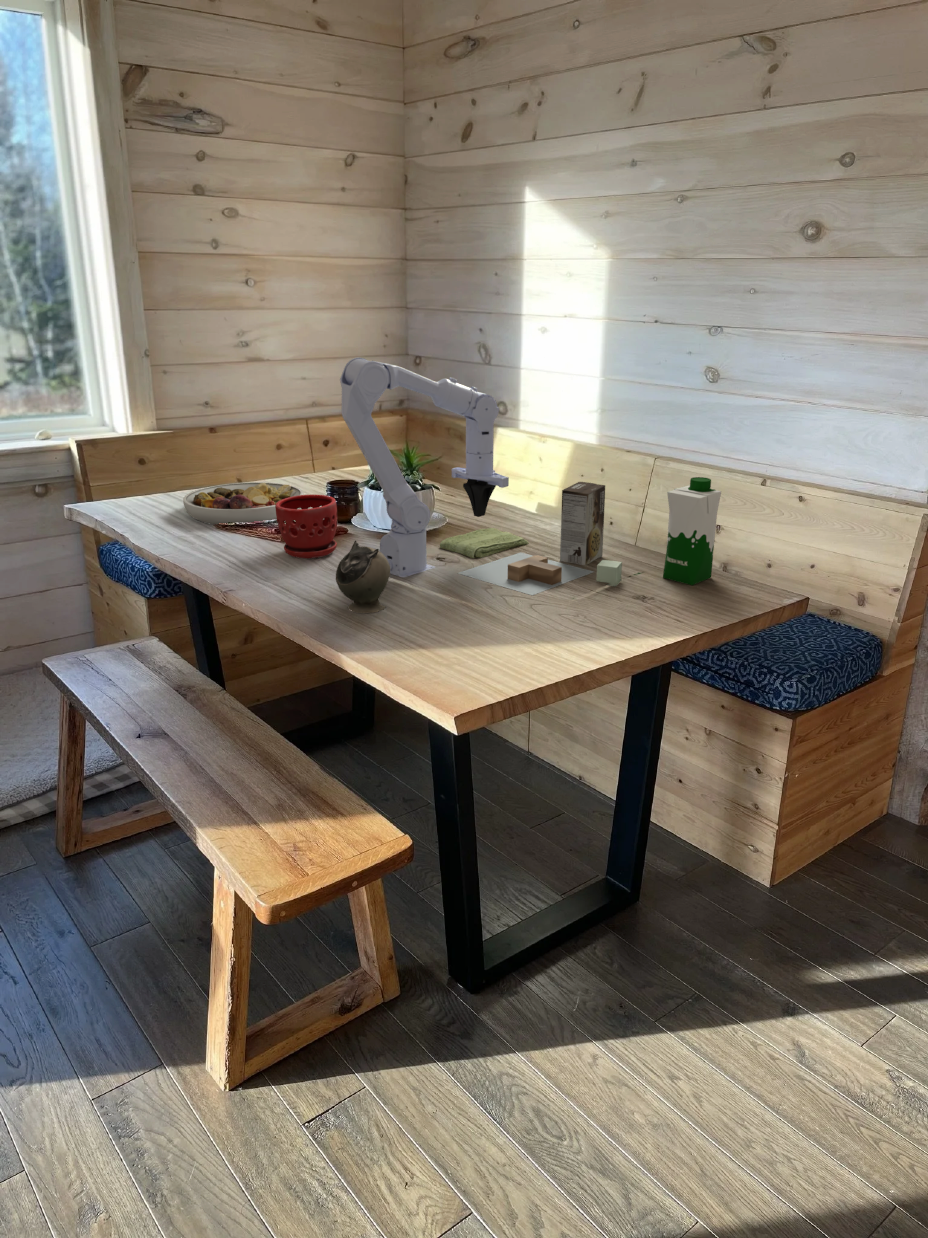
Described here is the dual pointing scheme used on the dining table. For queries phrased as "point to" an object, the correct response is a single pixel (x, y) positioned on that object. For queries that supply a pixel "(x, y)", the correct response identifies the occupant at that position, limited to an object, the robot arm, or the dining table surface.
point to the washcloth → (482, 542)
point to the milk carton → (691, 531)
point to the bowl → (237, 502)
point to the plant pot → (307, 525)
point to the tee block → (535, 570)
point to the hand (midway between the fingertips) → (479, 515)
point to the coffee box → (582, 523)
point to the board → (499, 576)
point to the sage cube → (609, 572)
